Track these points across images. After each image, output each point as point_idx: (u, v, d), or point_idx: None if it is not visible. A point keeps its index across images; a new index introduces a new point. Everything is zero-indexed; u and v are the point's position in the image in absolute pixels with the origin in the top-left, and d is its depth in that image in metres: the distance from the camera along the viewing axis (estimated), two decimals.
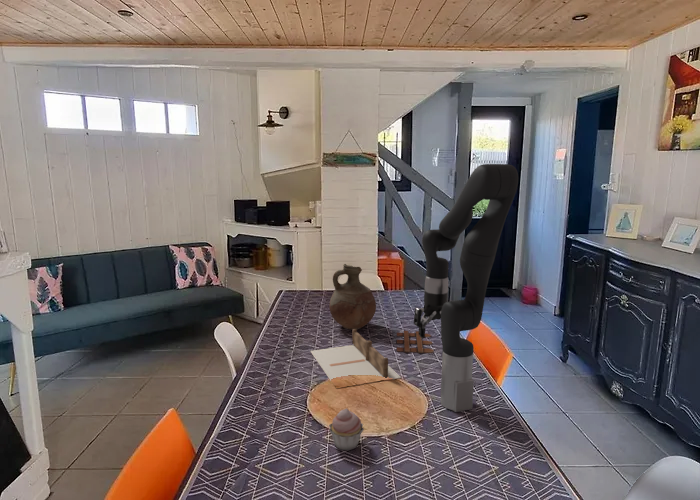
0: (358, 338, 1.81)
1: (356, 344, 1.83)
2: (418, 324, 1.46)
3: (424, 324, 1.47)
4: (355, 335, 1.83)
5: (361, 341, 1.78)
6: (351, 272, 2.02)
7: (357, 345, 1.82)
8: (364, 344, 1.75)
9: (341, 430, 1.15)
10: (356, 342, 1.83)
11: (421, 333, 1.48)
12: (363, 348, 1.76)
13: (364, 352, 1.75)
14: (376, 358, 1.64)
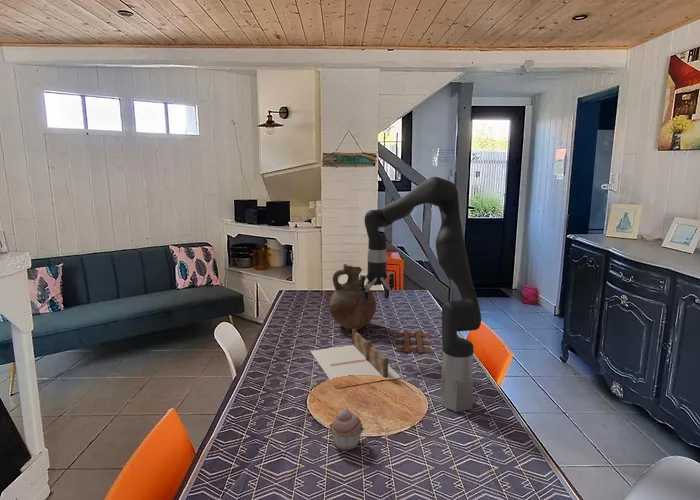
0: (358, 338, 1.81)
1: (356, 344, 1.83)
2: (362, 288, 1.76)
3: (367, 288, 1.77)
4: (355, 335, 1.83)
5: (361, 341, 1.78)
6: (351, 272, 2.02)
7: (357, 345, 1.82)
8: (364, 344, 1.75)
9: (341, 430, 1.15)
10: (356, 342, 1.83)
11: (365, 296, 1.78)
12: (363, 348, 1.76)
13: (364, 352, 1.75)
14: (376, 358, 1.64)
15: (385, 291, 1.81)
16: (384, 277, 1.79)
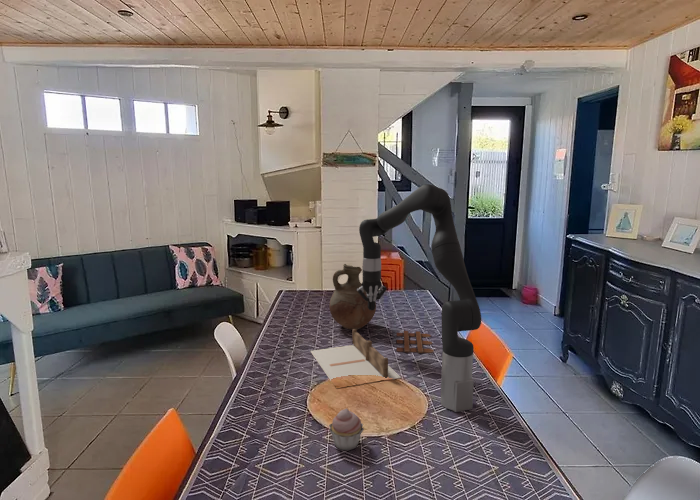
0: (358, 338, 1.81)
1: (356, 344, 1.83)
2: (366, 298, 1.80)
3: (371, 298, 1.81)
4: (355, 335, 1.83)
5: (361, 341, 1.78)
6: (351, 272, 2.02)
7: (357, 345, 1.82)
8: (364, 344, 1.75)
9: (341, 430, 1.15)
10: (356, 342, 1.83)
11: (369, 306, 1.82)
12: (363, 348, 1.76)
13: (364, 352, 1.75)
14: (376, 358, 1.64)
15: None
16: (378, 288, 1.82)
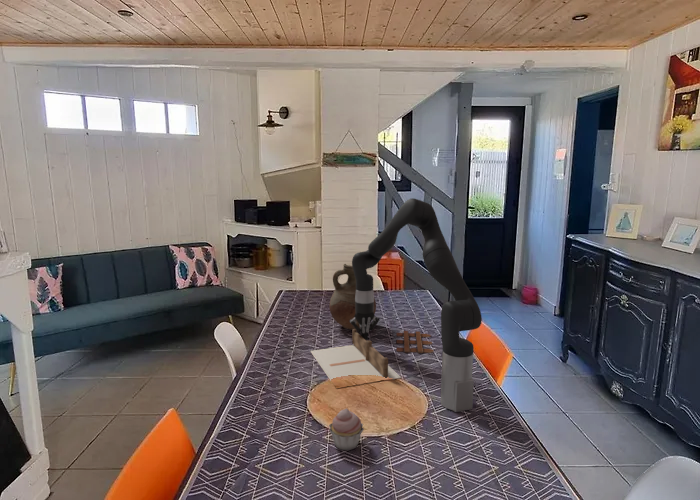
0: (358, 338, 1.81)
1: (356, 344, 1.83)
2: (359, 330, 1.82)
3: (364, 330, 1.83)
4: (355, 335, 1.83)
5: (361, 341, 1.78)
6: (351, 272, 2.02)
7: (357, 345, 1.82)
8: (364, 344, 1.75)
9: (341, 430, 1.15)
10: (356, 342, 1.83)
11: None
12: (363, 348, 1.76)
13: (364, 352, 1.75)
14: (376, 358, 1.64)
15: None
16: (371, 319, 1.83)
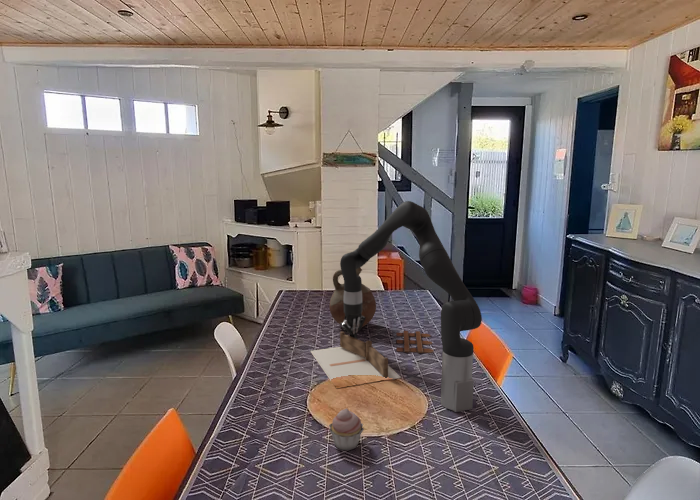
0: (351, 340, 1.79)
1: (347, 346, 1.81)
2: (350, 331, 1.80)
3: (354, 330, 1.81)
4: (346, 337, 1.81)
5: (356, 342, 1.76)
6: None
7: (349, 347, 1.80)
8: (362, 345, 1.74)
9: (341, 430, 1.15)
10: (347, 344, 1.81)
11: None
12: (360, 349, 1.75)
13: (362, 353, 1.74)
14: (376, 358, 1.64)
15: None
16: None
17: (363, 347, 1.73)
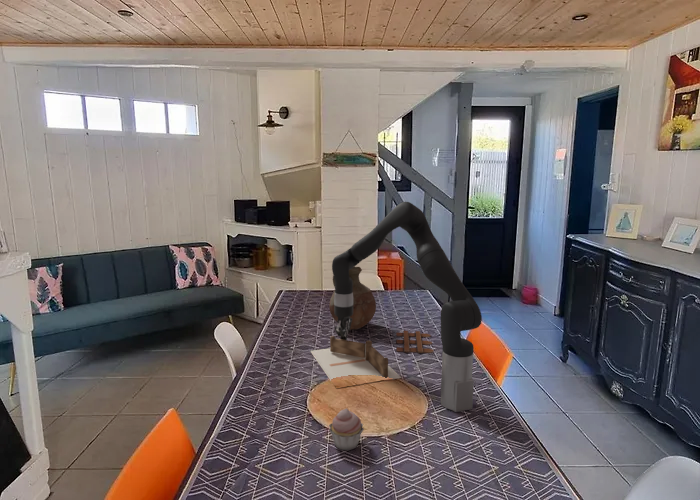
0: (345, 343, 1.75)
1: (340, 350, 1.77)
2: (343, 334, 1.76)
3: (345, 333, 1.78)
4: (338, 341, 1.77)
5: (353, 344, 1.74)
6: (351, 272, 2.02)
7: (343, 351, 1.76)
8: (360, 346, 1.73)
9: (341, 430, 1.15)
10: (340, 348, 1.77)
11: None
12: (358, 350, 1.74)
13: (361, 354, 1.73)
14: (376, 358, 1.64)
15: None
16: None
17: (362, 348, 1.73)
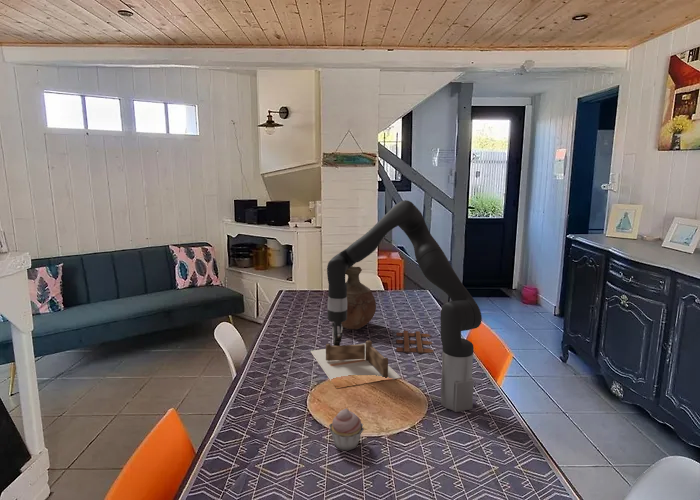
0: (344, 348, 1.70)
1: (338, 357, 1.71)
2: (340, 340, 1.70)
3: None
4: (336, 348, 1.70)
5: (353, 348, 1.71)
6: (351, 272, 2.02)
7: (341, 357, 1.71)
8: (361, 348, 1.71)
9: (341, 430, 1.15)
10: (338, 354, 1.70)
11: None
12: (358, 353, 1.71)
13: (361, 356, 1.72)
14: (376, 358, 1.64)
15: None
16: None
17: (363, 349, 1.71)
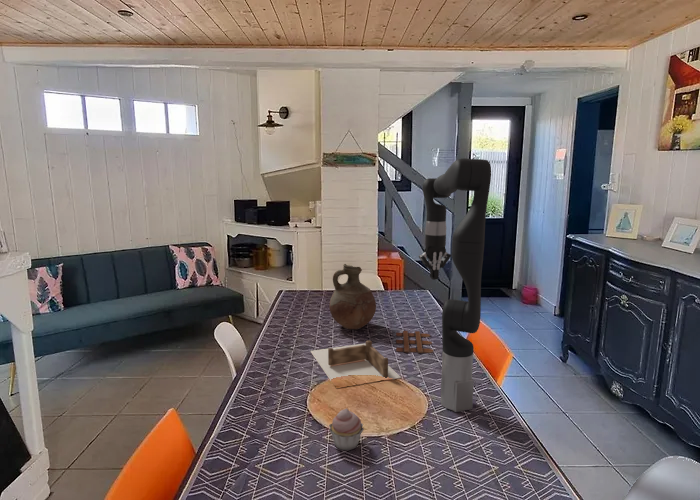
0: (346, 351, 1.68)
1: (341, 360, 1.68)
2: (429, 266, 1.65)
3: (435, 266, 1.66)
4: (339, 351, 1.67)
5: (354, 349, 1.69)
6: (351, 272, 2.02)
7: (343, 360, 1.68)
8: (362, 348, 1.70)
9: (341, 430, 1.15)
10: (341, 358, 1.67)
11: (432, 275, 1.67)
12: (360, 354, 1.70)
13: (362, 356, 1.71)
14: (376, 358, 1.64)
15: None
16: (442, 255, 1.66)
17: (363, 350, 1.71)
